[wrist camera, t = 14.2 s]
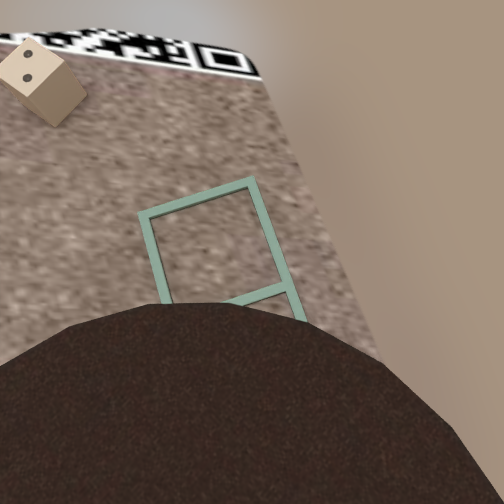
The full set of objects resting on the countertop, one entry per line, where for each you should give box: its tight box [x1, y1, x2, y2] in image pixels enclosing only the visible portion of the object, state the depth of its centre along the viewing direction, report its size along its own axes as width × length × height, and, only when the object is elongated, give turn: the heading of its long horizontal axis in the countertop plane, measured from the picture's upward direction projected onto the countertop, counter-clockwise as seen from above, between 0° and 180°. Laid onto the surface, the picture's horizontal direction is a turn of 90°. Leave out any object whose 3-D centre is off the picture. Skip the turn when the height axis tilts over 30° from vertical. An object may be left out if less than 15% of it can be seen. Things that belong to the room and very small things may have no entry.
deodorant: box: [0, 302, 504, 504], centre depth 10 cm, size 6×6×15 cm
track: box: [137, 176, 308, 322], centre depth 30 cm, size 30×11×1 cm, turn 18°
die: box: [0, 37, 87, 128], centre depth 35 cm, size 4×5×5 cm
